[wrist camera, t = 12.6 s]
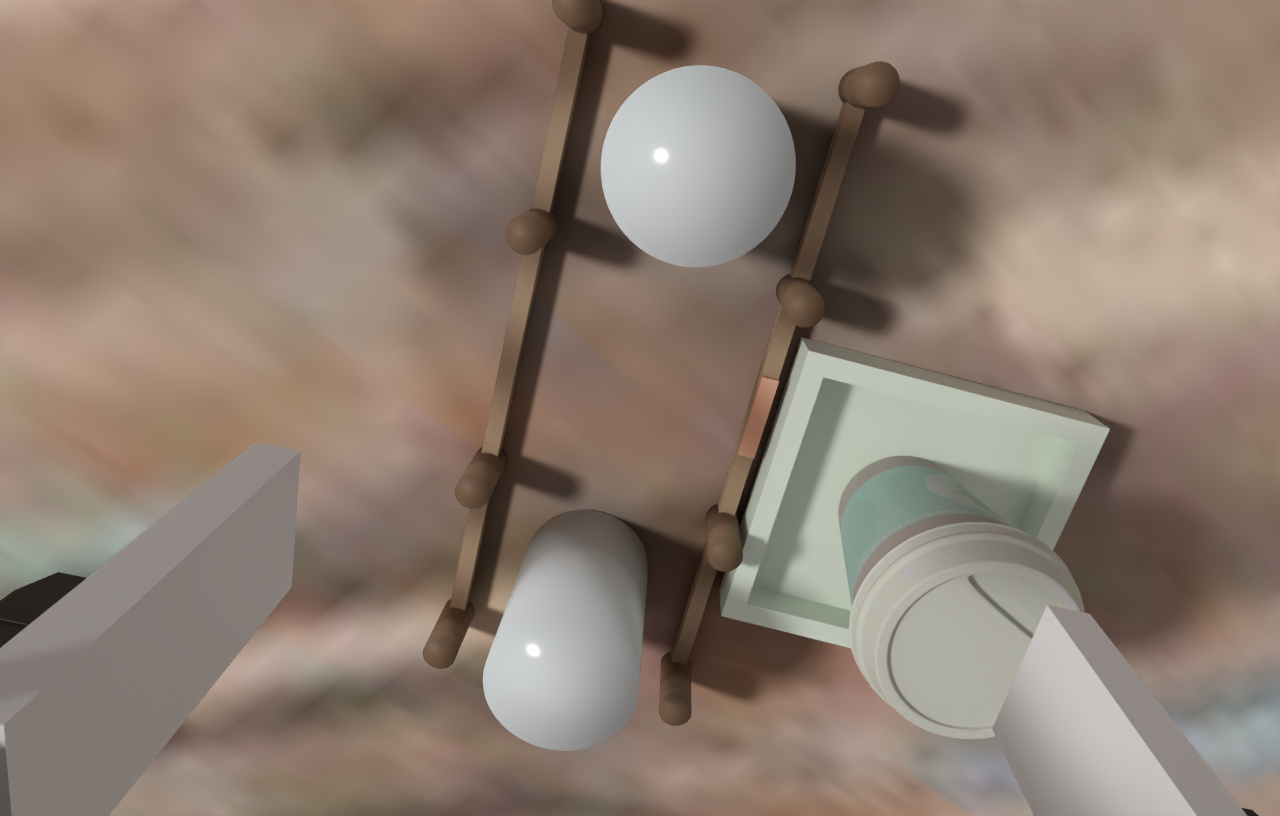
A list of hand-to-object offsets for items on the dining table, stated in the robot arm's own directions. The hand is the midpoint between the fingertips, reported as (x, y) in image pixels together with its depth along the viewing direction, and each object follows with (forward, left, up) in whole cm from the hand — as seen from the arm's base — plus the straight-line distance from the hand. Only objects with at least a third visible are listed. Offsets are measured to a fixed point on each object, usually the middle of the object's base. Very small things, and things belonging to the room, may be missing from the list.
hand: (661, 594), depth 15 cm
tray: (+7, +13, -26) cm, 30 cm away
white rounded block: (-6, -1, -26) cm, 27 cm away
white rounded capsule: (+15, -1, -26) cm, 30 cm away
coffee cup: (+7, +13, -26) cm, 30 cm away
